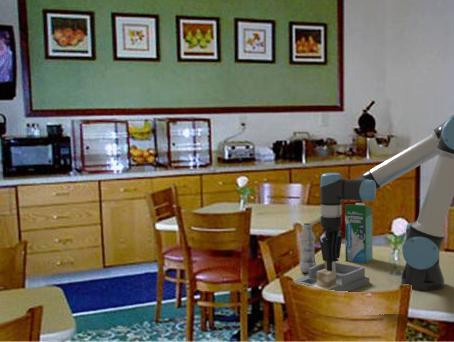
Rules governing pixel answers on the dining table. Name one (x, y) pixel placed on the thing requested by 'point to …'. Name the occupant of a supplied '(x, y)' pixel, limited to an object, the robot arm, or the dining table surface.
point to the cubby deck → (338, 277)
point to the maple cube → (326, 278)
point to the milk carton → (358, 233)
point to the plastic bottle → (307, 248)
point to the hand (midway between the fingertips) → (331, 278)
